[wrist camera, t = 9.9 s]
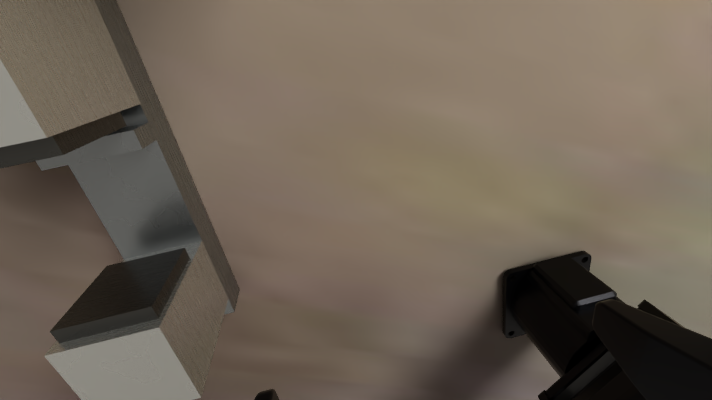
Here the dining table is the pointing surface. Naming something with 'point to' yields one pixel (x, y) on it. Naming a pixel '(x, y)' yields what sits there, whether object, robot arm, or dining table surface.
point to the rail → (143, 259)
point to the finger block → (57, 79)
